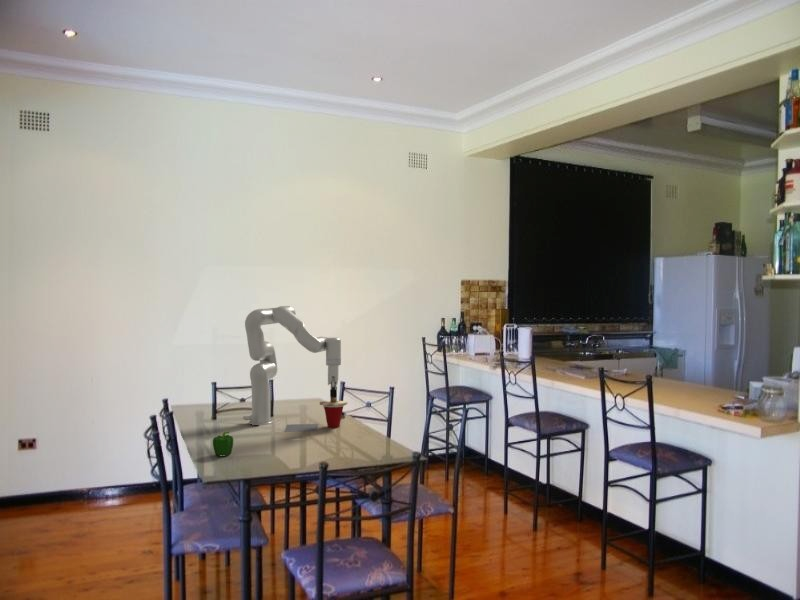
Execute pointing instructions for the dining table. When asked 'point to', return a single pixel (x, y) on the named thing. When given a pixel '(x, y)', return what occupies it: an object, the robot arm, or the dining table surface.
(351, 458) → the dining table surface
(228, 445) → the bell pepper
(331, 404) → the lid
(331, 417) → the plastic cup
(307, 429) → the mat
